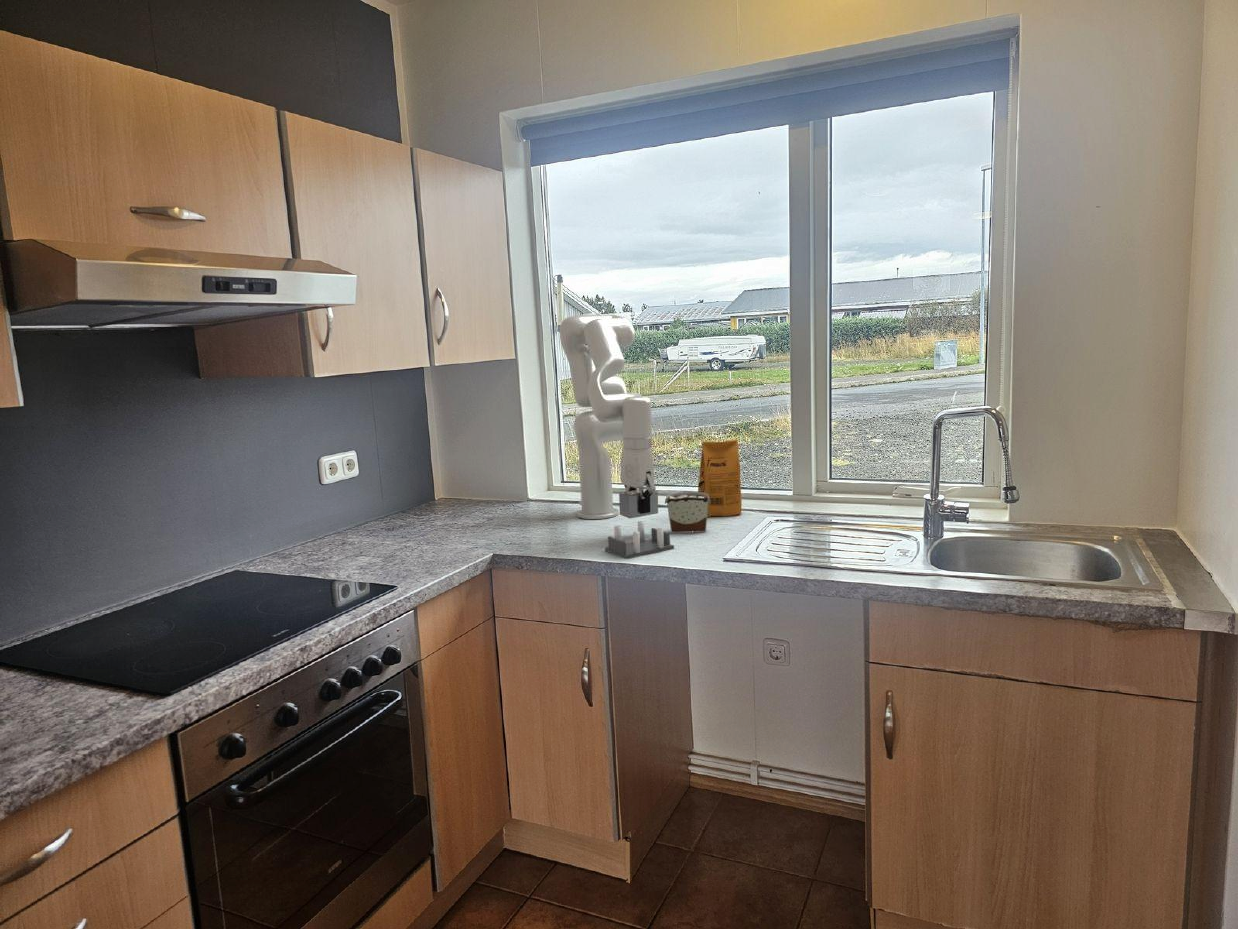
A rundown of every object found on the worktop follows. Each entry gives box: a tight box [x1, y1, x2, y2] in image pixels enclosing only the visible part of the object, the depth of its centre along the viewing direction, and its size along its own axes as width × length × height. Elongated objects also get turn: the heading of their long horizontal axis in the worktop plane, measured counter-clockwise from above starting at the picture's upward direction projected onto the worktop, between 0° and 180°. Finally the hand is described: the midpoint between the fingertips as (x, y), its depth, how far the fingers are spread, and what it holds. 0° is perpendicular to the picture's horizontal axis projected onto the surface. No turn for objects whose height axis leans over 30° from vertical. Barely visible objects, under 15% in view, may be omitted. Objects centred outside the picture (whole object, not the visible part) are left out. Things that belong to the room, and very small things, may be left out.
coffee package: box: [697, 438, 743, 518], centre depth 237 cm, size 10×12×22 cm
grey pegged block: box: [604, 520, 675, 559], centre depth 201 cm, size 10×14×6 cm
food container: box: [664, 491, 711, 533], centre depth 220 cm, size 12×6×10 cm, turn 84°
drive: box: [618, 489, 659, 519], centre depth 215 cm, size 5×9×6 cm, turn 121°
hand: (638, 510), depth 215 cm, fingers closed on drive, 5 cm apart
